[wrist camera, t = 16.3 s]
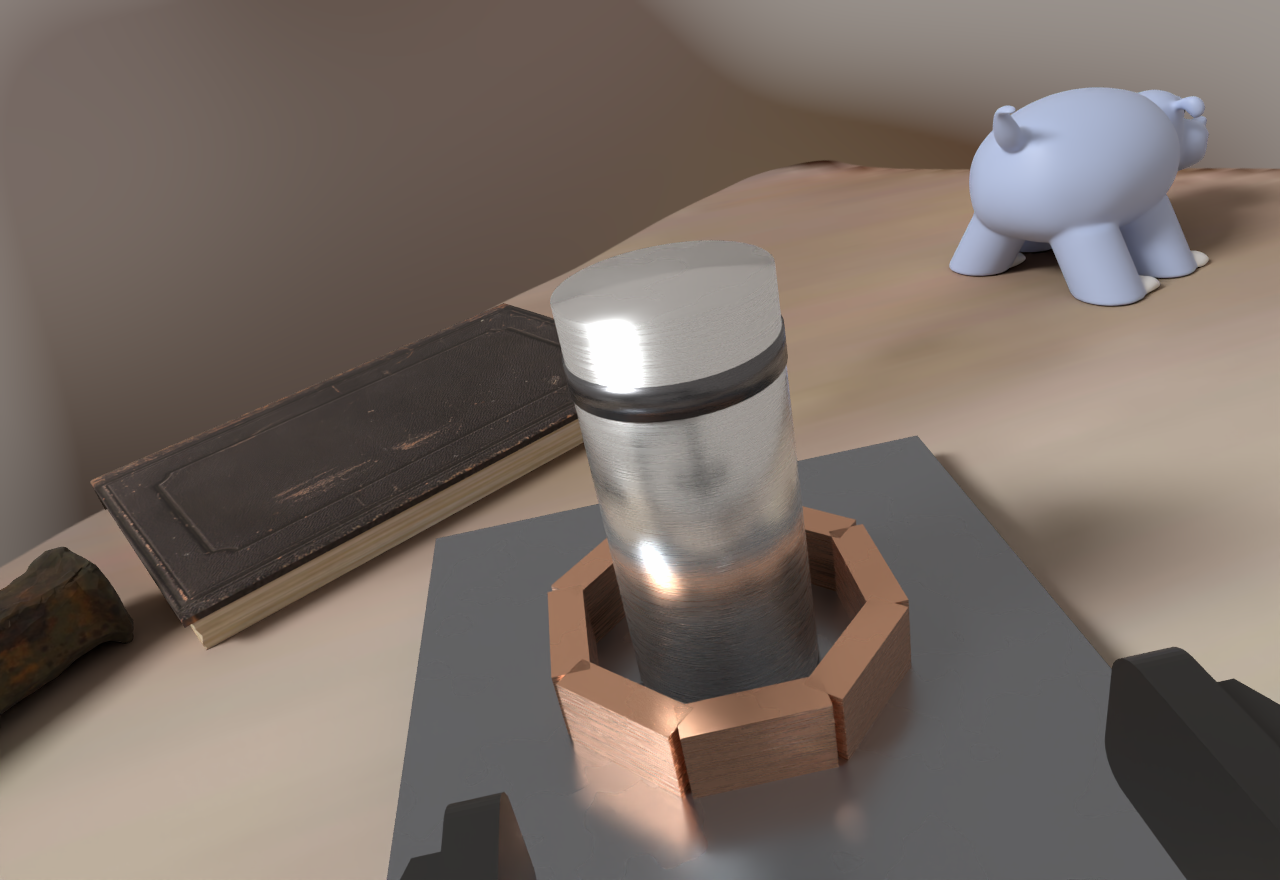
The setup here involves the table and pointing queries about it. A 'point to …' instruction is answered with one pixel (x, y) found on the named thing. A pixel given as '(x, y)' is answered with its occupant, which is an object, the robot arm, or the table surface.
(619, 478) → the steel piston
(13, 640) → the hand tool
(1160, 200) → the hippopotamus toy
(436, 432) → the hardcover book
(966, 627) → the grey square base plate
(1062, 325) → the table surface
